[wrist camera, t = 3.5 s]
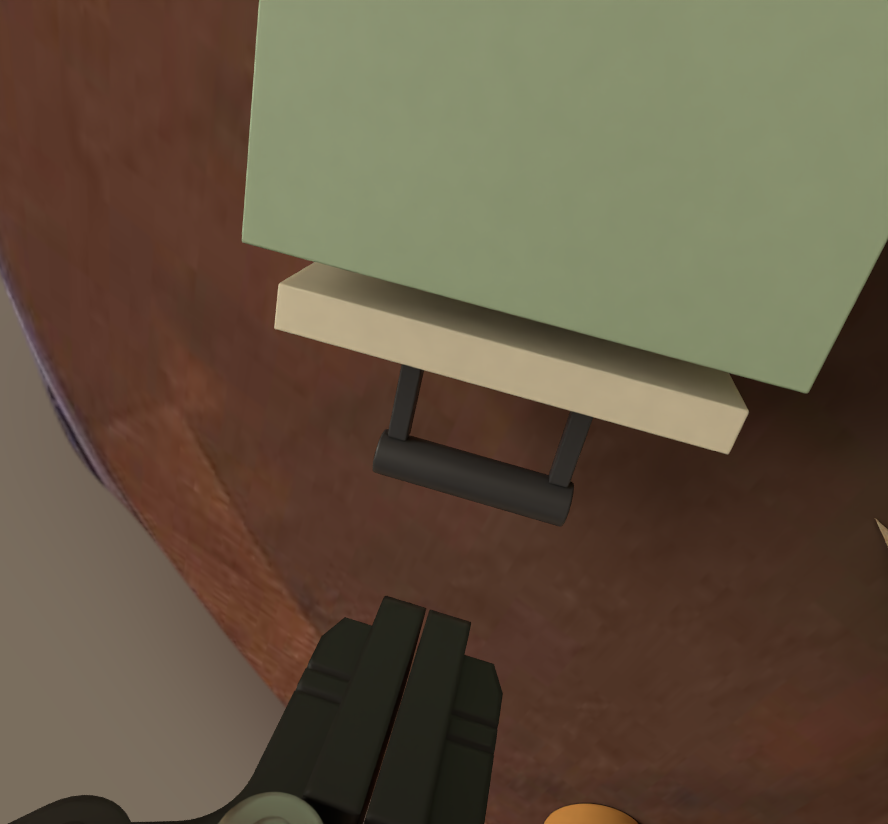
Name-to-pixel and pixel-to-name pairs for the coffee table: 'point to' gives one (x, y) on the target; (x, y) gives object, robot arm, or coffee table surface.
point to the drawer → (504, 382)
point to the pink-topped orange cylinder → (588, 815)
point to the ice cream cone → (883, 531)
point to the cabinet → (587, 162)
